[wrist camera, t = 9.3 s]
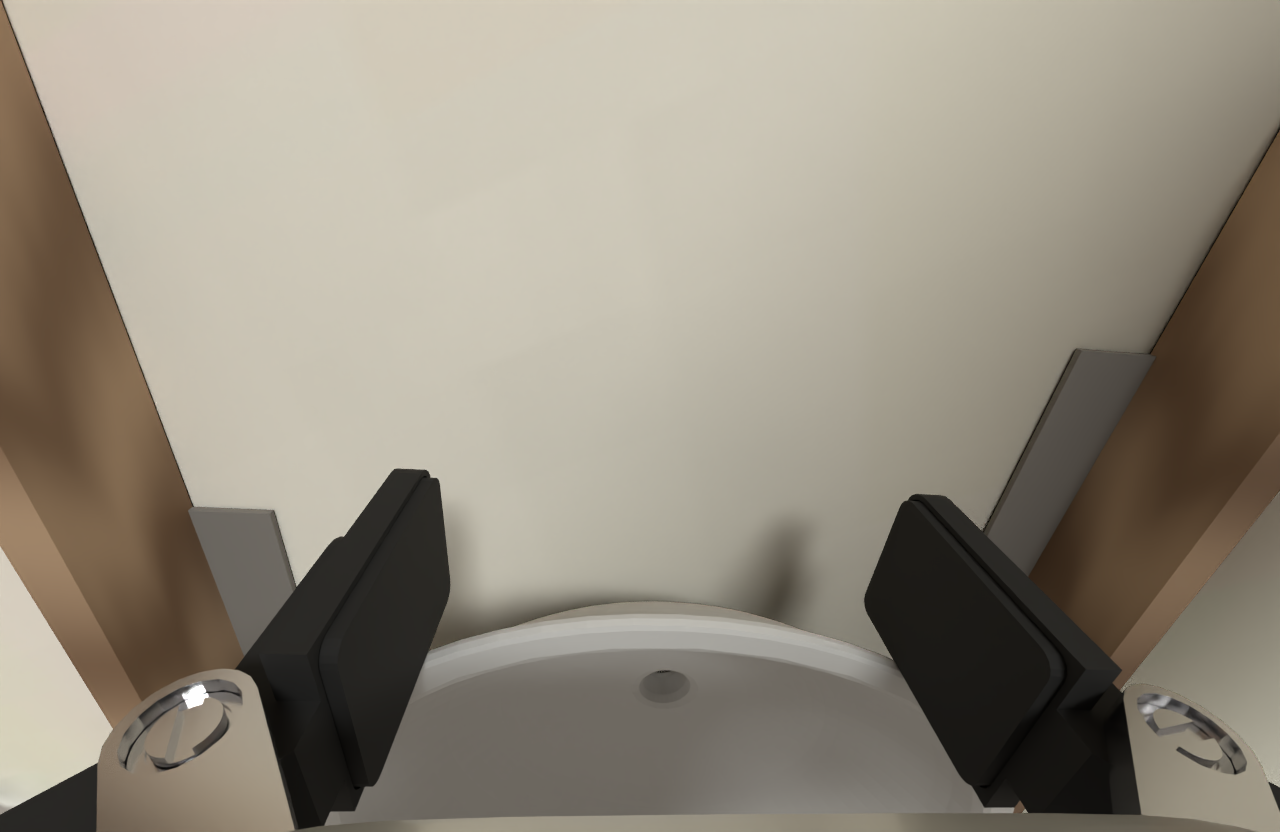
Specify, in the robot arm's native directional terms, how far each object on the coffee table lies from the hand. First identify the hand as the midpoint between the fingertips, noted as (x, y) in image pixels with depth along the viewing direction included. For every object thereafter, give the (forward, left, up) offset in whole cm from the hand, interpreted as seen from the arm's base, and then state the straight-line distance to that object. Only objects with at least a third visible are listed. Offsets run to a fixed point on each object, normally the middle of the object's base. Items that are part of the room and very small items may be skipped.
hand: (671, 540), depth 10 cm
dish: (+8, +1, -4) cm, 9 cm away
